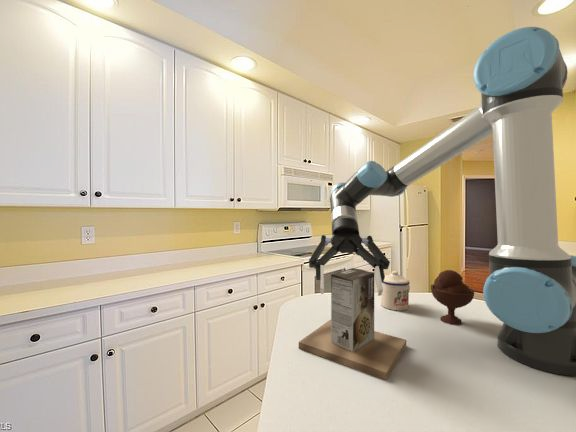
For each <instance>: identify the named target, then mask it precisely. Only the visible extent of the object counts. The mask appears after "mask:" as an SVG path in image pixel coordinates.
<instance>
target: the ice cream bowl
mask: <svg viewBox="0 0 576 432" xmlns="http://www.w3.org/2000/svg"><path fill="white" fill-rule="evenodd" d="M430 290H431V294H432V297H433V298H434V299H435V300H436V301H437V302H439V303H440V305H443V306H445V307H446V308H447V314H445V315H441V316H440V321H441V322H443V323H444V324H448V325H453V326H454V325H455V326H460V325H462V324H463V321H462V319H460V318H459V317H458V316H457V315H455V312H456V309H458V308H459V309H460V308H463V307H465V306H467V305H469V304H470V303H471V302H472V301H473V299H474V296H475V291H474V289H472V288H470V287H469V285H467V284H465V283H464V281H463V276H462V275H461V274H459V272H457V271H455V270H452V269H446V270H443V271H441V272H440V273H438V276H437V277H436V278H435V279H434V282H433V284H430Z"/></svg>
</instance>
